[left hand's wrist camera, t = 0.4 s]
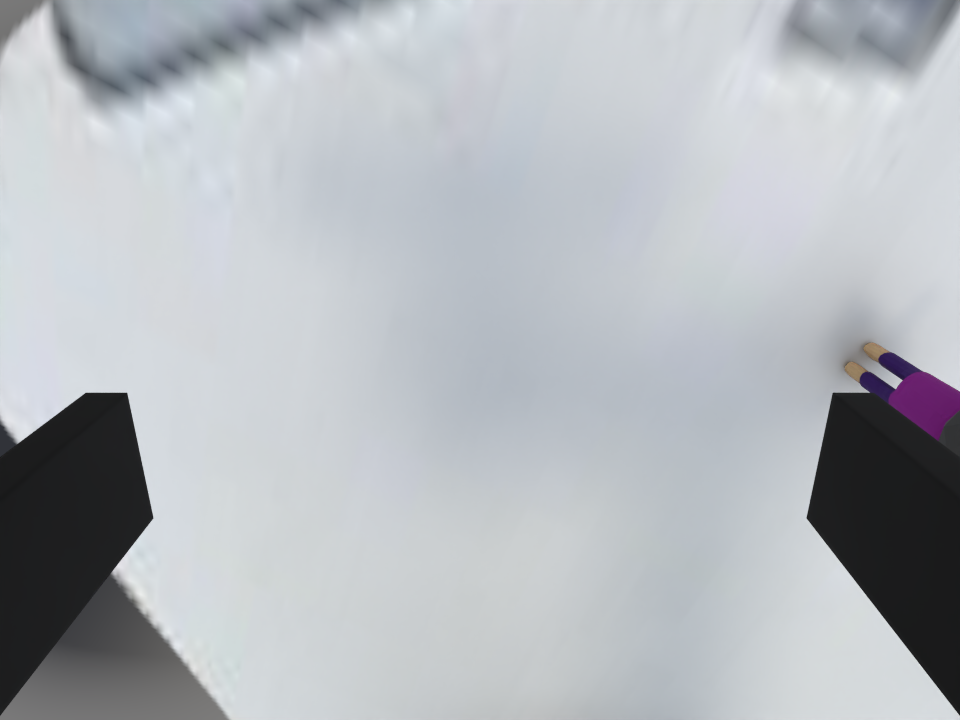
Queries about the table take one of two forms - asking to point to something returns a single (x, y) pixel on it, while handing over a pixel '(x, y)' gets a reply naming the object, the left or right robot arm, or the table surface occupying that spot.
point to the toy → (914, 395)
